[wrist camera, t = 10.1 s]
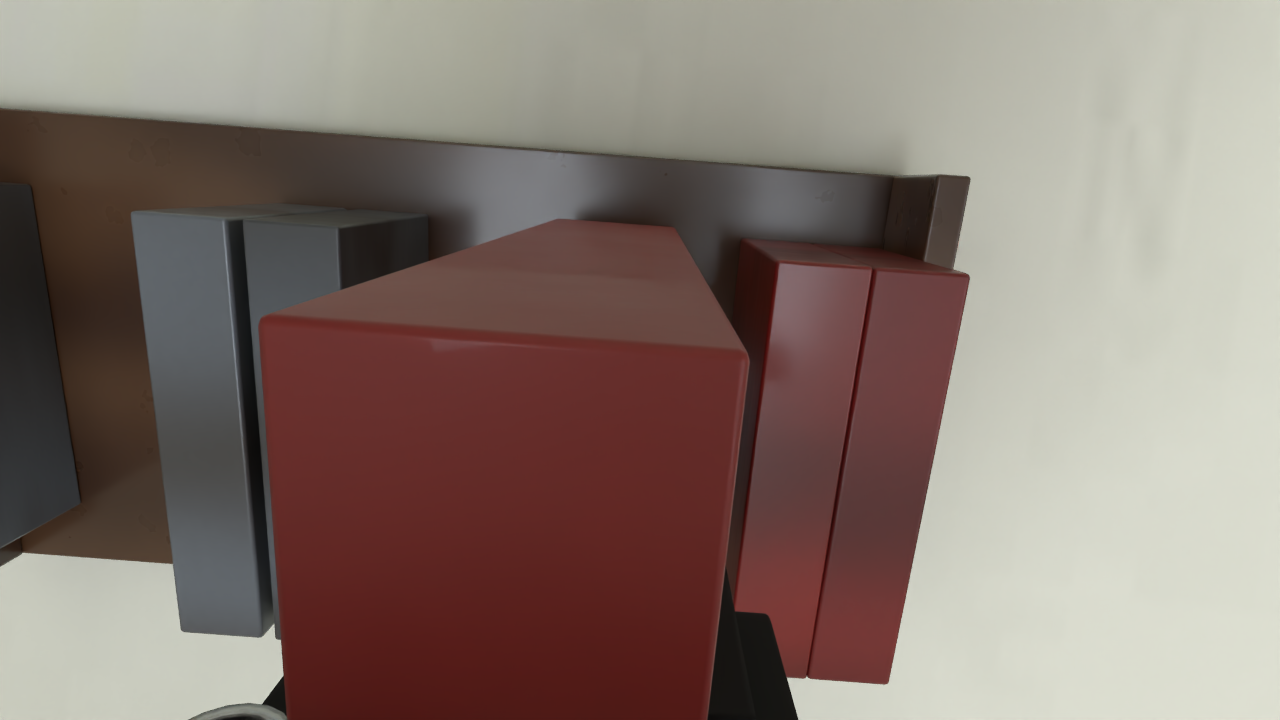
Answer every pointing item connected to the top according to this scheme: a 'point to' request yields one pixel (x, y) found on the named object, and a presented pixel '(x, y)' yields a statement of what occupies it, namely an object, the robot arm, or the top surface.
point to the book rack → (414, 234)
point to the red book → (506, 482)
